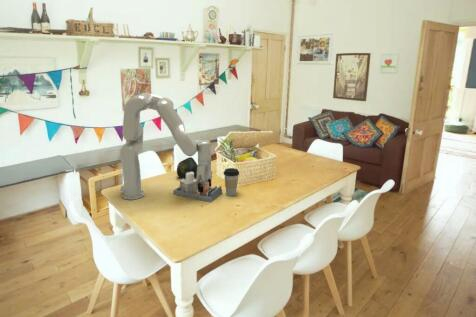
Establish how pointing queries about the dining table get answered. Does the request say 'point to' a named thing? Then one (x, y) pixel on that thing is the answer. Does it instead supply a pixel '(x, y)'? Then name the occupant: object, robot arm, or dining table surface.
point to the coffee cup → (231, 181)
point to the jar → (205, 188)
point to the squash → (187, 167)
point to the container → (188, 183)
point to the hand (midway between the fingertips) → (204, 189)
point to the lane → (212, 197)
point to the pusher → (211, 191)
